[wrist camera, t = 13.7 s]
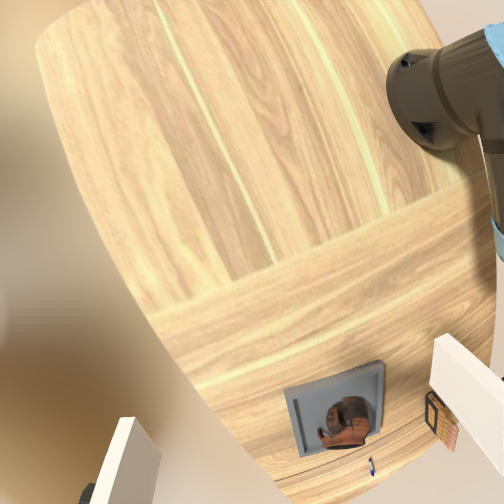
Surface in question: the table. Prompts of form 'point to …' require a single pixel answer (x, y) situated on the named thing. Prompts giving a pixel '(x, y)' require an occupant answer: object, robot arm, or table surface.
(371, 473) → the ballpoint pen
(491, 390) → the robot arm
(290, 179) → the table surface
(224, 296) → the table surface
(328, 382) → the tray
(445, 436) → the ammunition clip
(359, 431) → the broken brown clay pot
